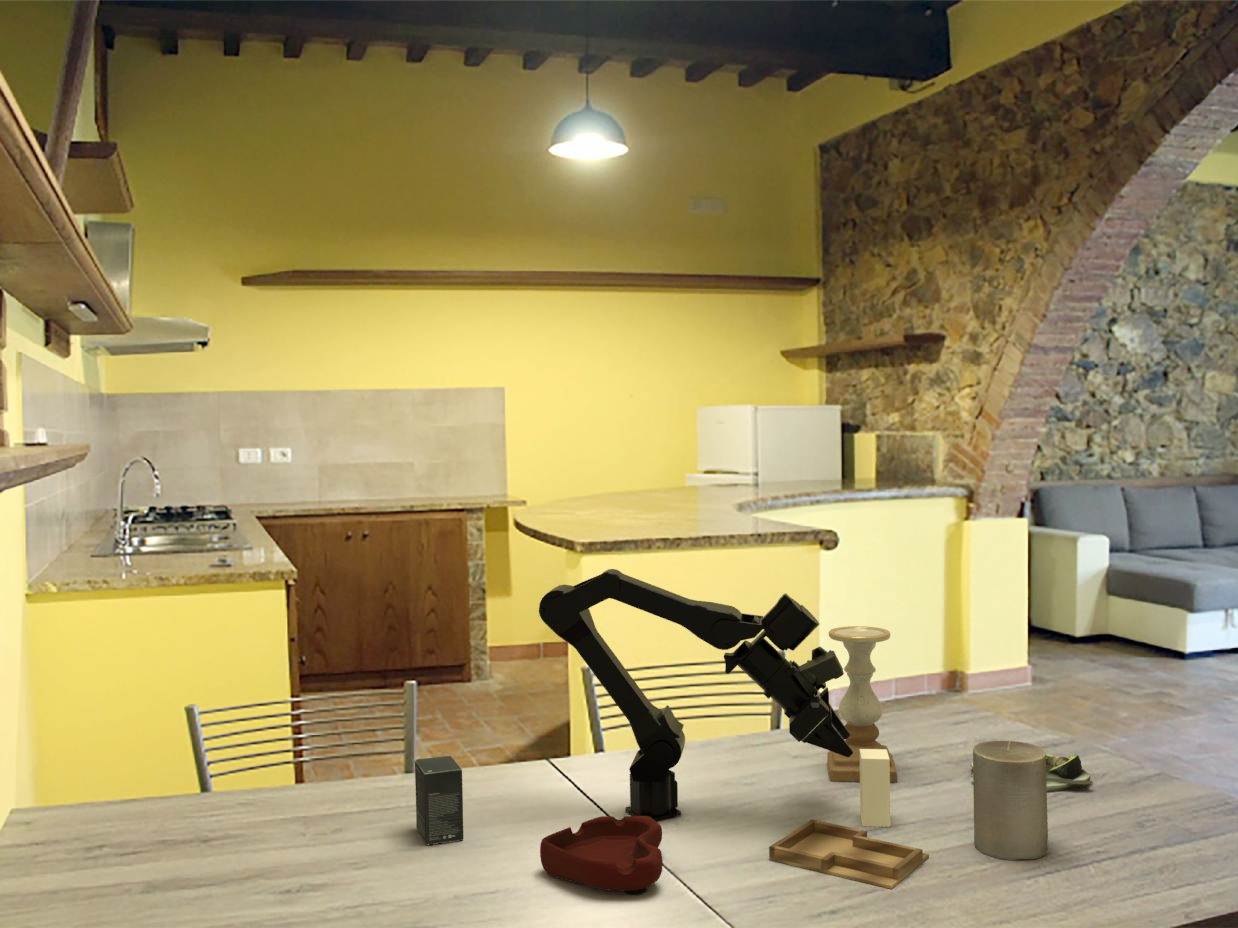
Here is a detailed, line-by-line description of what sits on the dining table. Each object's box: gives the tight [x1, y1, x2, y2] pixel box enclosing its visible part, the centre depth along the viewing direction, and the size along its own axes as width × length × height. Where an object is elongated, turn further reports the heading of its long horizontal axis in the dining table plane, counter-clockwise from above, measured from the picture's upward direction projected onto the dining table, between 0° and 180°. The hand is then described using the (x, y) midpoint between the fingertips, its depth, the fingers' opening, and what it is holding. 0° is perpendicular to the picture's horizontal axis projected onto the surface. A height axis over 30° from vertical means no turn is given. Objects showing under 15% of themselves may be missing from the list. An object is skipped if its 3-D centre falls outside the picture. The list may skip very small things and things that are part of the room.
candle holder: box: [826, 625, 898, 784], centre depth 193 cm, size 11×11×24 cm
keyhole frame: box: [768, 819, 930, 890], centre depth 156 cm, size 18×13×2 cm
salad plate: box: [969, 753, 1094, 792], centre depth 188 cm, size 19×18×5 cm
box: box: [414, 755, 464, 846], centre depth 168 cm, size 8×6×11 cm
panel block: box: [859, 749, 891, 828], centre depth 170 cm, size 4×5×10 cm
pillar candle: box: [972, 740, 1049, 861], centre depth 158 cm, size 10×10×15 cm
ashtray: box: [539, 815, 664, 896], centre depth 153 cm, size 18×16×5 cm
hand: (849, 745), depth 170 cm, fingers open, 9 cm apart
